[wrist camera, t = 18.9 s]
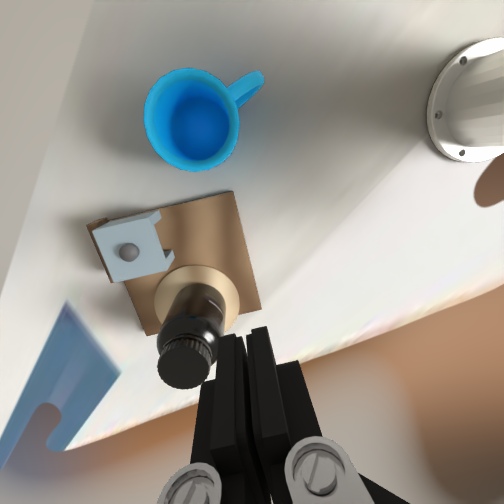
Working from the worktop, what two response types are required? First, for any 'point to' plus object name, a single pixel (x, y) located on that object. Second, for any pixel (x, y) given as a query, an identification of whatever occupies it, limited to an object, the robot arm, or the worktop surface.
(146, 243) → the cover
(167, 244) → the board
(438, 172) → the worktop surface
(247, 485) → the robot arm
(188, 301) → the supplement bottle
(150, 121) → the mug
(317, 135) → the worktop surface
